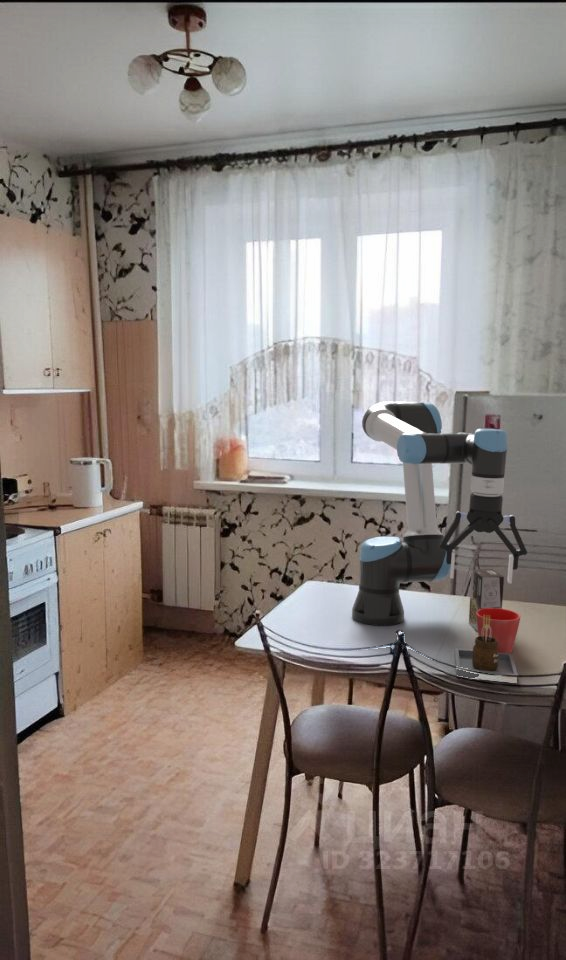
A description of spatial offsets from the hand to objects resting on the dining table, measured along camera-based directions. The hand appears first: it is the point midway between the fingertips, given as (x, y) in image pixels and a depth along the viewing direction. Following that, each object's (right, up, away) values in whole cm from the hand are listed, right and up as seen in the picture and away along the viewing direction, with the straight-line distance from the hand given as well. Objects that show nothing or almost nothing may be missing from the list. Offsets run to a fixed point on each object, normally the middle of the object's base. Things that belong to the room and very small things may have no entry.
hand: (480, 579), depth 170 cm
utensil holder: (0, -21, -3) cm, 21 cm away
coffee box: (+9, -18, +27) cm, 33 cm away
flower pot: (+7, -20, +10) cm, 23 cm away
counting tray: (0, -21, -3) cm, 21 cm away
